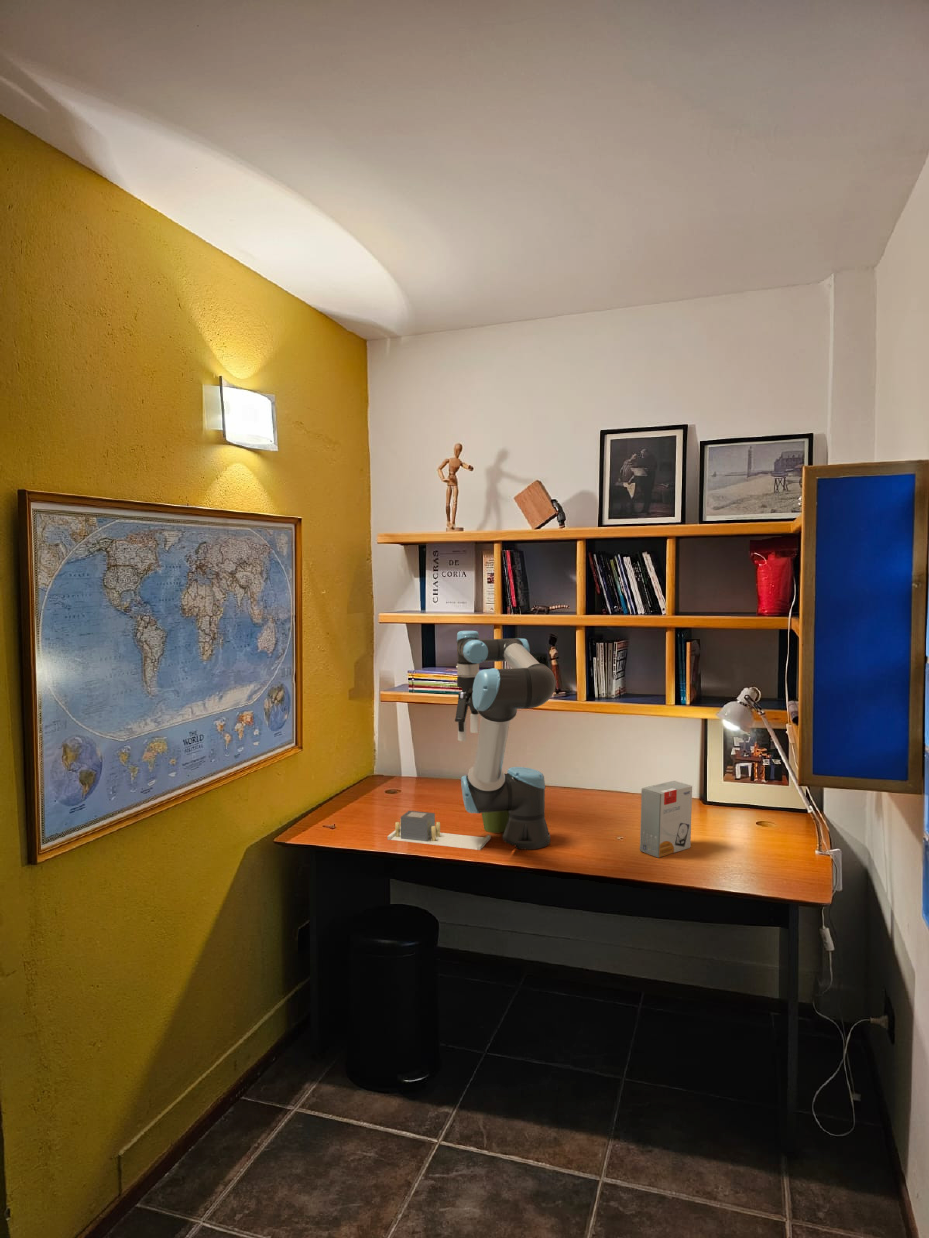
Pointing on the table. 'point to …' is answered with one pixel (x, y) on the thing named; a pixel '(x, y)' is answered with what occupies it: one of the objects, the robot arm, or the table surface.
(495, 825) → the plant pot
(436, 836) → the tray
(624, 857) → the table surface
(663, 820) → the hard drive box
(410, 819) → the block
